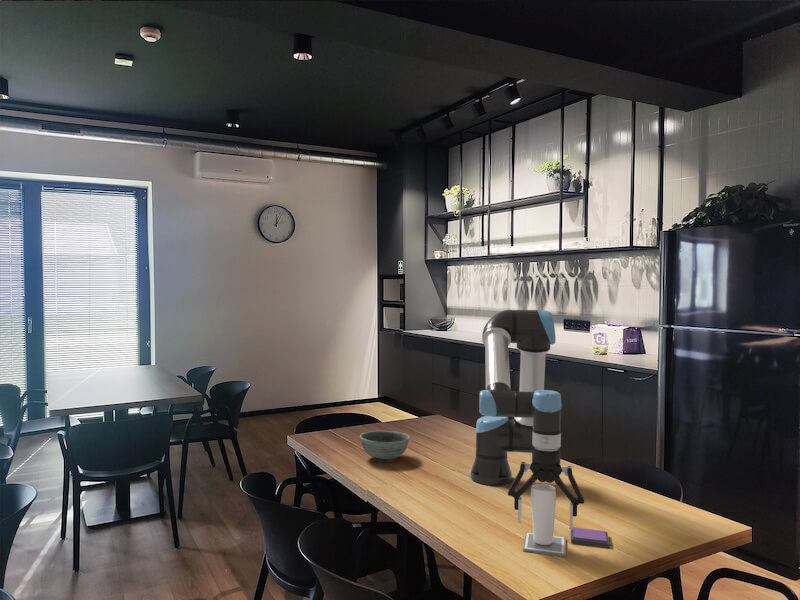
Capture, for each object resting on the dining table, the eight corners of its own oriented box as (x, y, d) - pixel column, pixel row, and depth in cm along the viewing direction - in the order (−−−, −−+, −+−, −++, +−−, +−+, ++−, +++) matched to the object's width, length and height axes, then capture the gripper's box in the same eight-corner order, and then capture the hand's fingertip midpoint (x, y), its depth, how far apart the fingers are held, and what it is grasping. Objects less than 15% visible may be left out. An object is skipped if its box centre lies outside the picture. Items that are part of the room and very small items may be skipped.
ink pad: (571, 543, 159) (571, 537, 159) (570, 531, 166) (570, 526, 166) (609, 548, 156) (609, 542, 156) (607, 536, 164) (607, 530, 164)
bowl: (350, 463, 230) (350, 438, 230) (372, 450, 249) (372, 427, 249) (398, 469, 222) (398, 444, 222) (417, 455, 241) (417, 432, 241)
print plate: (522, 551, 154) (523, 548, 154) (525, 534, 164) (525, 532, 164) (565, 556, 151) (565, 554, 151) (565, 539, 161) (565, 537, 161)
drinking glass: (527, 537, 161) (527, 483, 161) (551, 537, 161) (551, 483, 161) (534, 547, 154) (534, 491, 154) (559, 547, 154) (559, 491, 155)
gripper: (498, 447, 157) (497, 524, 157) (594, 455, 150) (593, 535, 150) (501, 440, 164) (500, 513, 164) (593, 448, 157) (592, 524, 157)
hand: (545, 524), depth 157 cm, fingers open, 13 cm apart
